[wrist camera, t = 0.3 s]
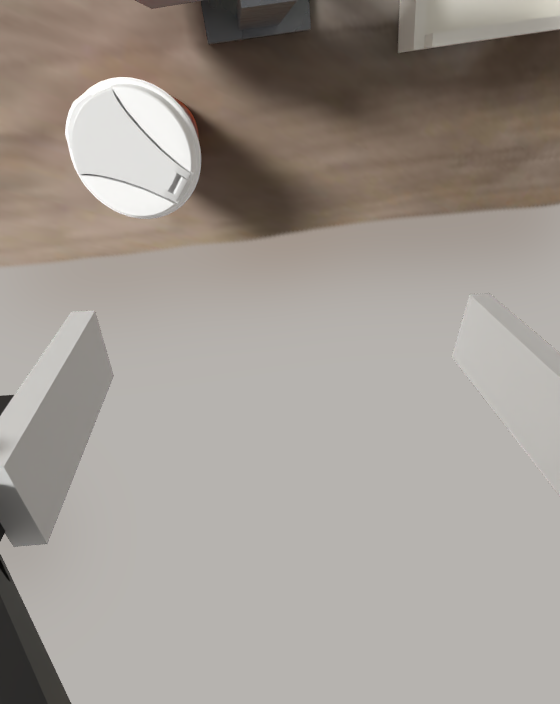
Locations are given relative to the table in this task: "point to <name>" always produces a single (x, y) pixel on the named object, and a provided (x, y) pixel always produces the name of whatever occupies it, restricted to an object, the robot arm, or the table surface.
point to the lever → (163, 2)
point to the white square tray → (471, 21)
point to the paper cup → (134, 147)
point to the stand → (253, 18)
